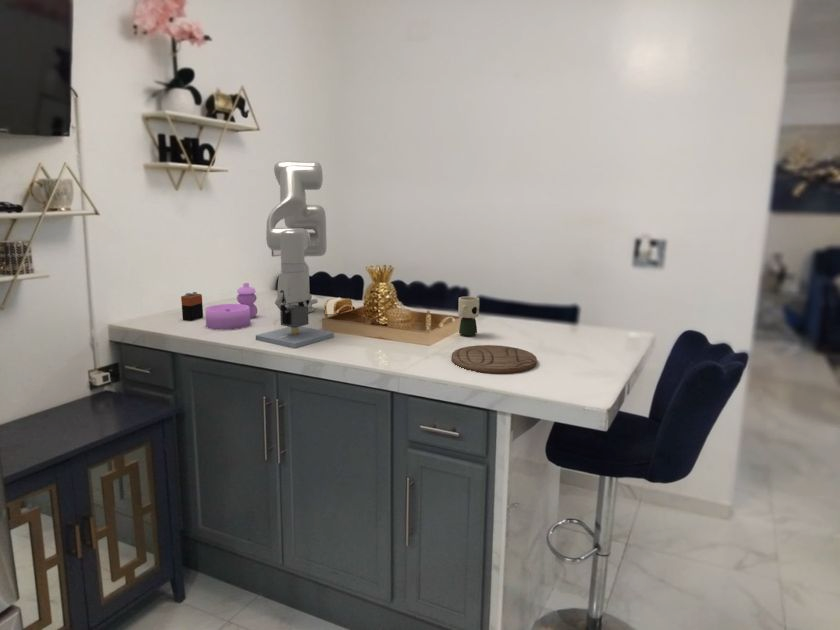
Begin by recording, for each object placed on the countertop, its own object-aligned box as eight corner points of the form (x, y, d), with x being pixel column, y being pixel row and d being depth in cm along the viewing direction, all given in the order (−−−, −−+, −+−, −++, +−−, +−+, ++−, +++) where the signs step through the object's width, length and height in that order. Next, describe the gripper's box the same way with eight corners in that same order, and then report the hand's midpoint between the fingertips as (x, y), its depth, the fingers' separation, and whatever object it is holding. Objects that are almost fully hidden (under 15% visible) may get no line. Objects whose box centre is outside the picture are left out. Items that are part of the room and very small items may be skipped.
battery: (182, 320, 227) (180, 293, 225) (194, 316, 233) (193, 290, 231) (191, 321, 225) (189, 294, 223) (203, 317, 232) (202, 291, 229)
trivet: (527, 351, 192) (527, 345, 191) (545, 375, 167) (545, 368, 167) (448, 350, 191) (448, 344, 191) (455, 375, 167) (455, 368, 166)
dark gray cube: (294, 321, 206) (294, 303, 204) (308, 324, 202) (308, 306, 201) (280, 325, 200) (280, 306, 199) (294, 327, 197) (294, 309, 196)
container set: (236, 331, 211) (234, 294, 209) (197, 328, 215) (195, 291, 212) (270, 316, 235) (268, 283, 232) (234, 314, 239) (233, 281, 236)
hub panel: (295, 329, 215) (295, 314, 213) (333, 337, 205) (333, 321, 204) (255, 339, 200) (255, 323, 199) (294, 348, 190) (294, 331, 189)
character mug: (471, 339, 204) (472, 301, 201) (452, 337, 207) (453, 299, 204) (483, 333, 213) (484, 296, 210) (464, 330, 216) (465, 294, 213)
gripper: (303, 264, 206) (305, 316, 210) (264, 270, 192) (266, 325, 196) (319, 266, 202) (321, 319, 206) (281, 272, 188) (283, 328, 192)
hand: (294, 321), depth 201 cm, fingers closed on dark gray cube, 6 cm apart
